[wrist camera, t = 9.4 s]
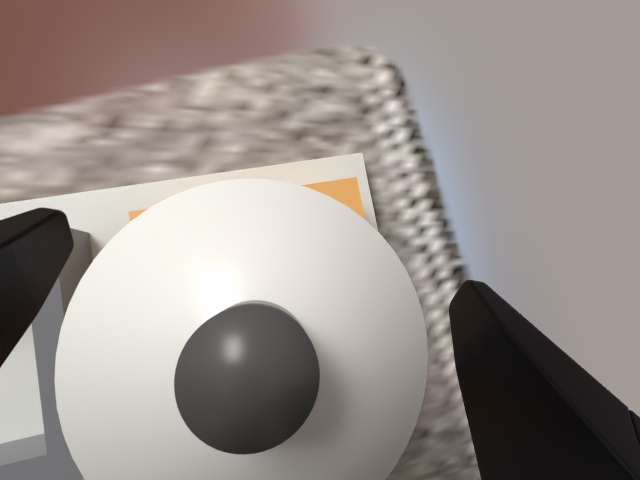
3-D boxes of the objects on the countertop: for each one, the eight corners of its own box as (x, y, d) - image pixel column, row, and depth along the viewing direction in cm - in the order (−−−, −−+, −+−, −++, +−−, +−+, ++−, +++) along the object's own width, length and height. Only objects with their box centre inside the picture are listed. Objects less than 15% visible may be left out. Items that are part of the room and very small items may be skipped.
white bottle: (302, 369, 15) (406, 689, 3) (197, 339, 15) (-113, 584, 3) (332, 267, 16) (510, 229, 4) (233, 235, 15) (102, 89, 4)
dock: (406, 403, 17) (442, 435, 13) (-139, 545, 13) (-284, 639, 10) (356, 159, 18) (377, 130, 14) (-162, 234, 14) (-301, 220, 11)
